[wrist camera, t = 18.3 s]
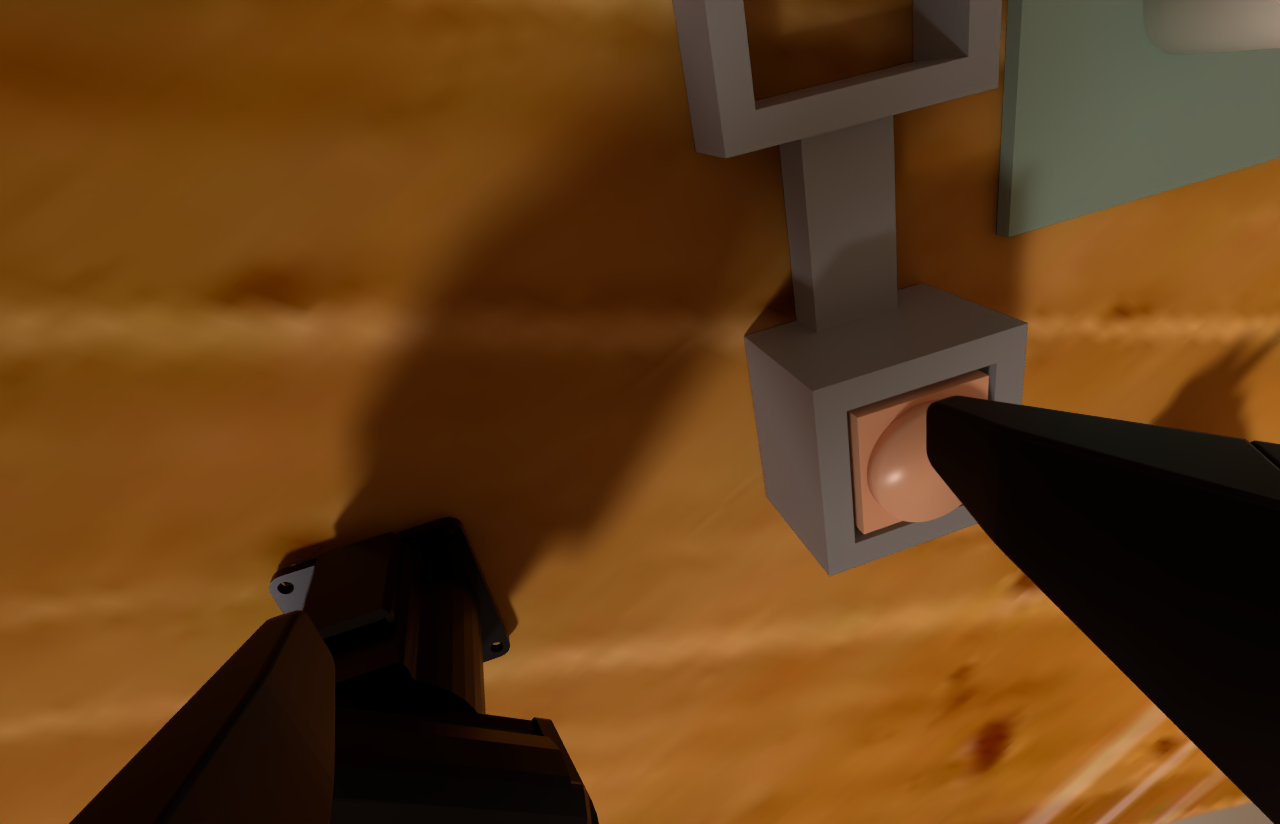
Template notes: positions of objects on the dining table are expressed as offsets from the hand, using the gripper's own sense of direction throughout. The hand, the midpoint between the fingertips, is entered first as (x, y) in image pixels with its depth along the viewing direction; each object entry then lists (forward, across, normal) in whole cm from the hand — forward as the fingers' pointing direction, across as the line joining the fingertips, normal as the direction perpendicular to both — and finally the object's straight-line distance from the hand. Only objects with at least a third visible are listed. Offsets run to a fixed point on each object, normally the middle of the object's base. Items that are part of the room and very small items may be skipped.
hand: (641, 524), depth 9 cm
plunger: (+13, -10, +7) cm, 18 cm away
